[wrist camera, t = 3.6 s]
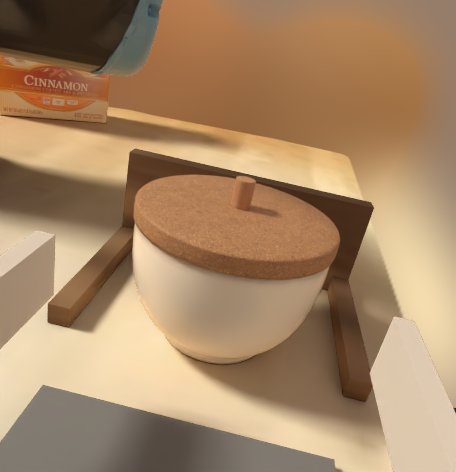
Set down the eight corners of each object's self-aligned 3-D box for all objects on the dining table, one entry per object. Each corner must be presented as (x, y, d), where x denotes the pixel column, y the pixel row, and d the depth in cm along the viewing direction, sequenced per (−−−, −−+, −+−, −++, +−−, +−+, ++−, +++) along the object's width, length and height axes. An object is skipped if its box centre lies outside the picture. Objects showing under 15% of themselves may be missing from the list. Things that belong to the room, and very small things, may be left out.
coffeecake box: (-1, 115, 59) (-6, -51, 51) (-6, 104, 65) (-10, -48, 57) (108, 124, 67) (119, -19, 59) (96, 113, 72) (104, -20, 64)
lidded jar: (96, 292, 27) (108, 143, 23) (238, 271, 33) (267, 150, 29) (169, 426, 19) (206, 233, 15) (339, 367, 25) (397, 218, 21)
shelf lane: (126, 234, 35) (135, 148, 32) (341, 285, 34) (371, 202, 31) (47, 321, 23) (50, 201, 21) (365, 401, 23) (415, 288, 20)
